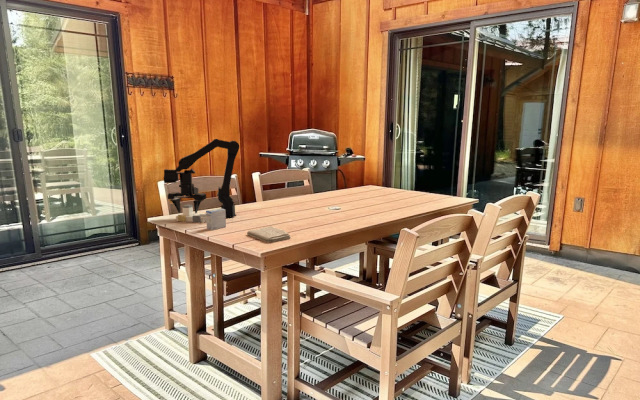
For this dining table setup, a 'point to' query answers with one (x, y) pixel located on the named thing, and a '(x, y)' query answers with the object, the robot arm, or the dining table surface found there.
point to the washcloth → (269, 234)
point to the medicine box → (216, 218)
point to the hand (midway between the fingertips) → (187, 212)
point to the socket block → (192, 217)
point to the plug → (187, 210)
